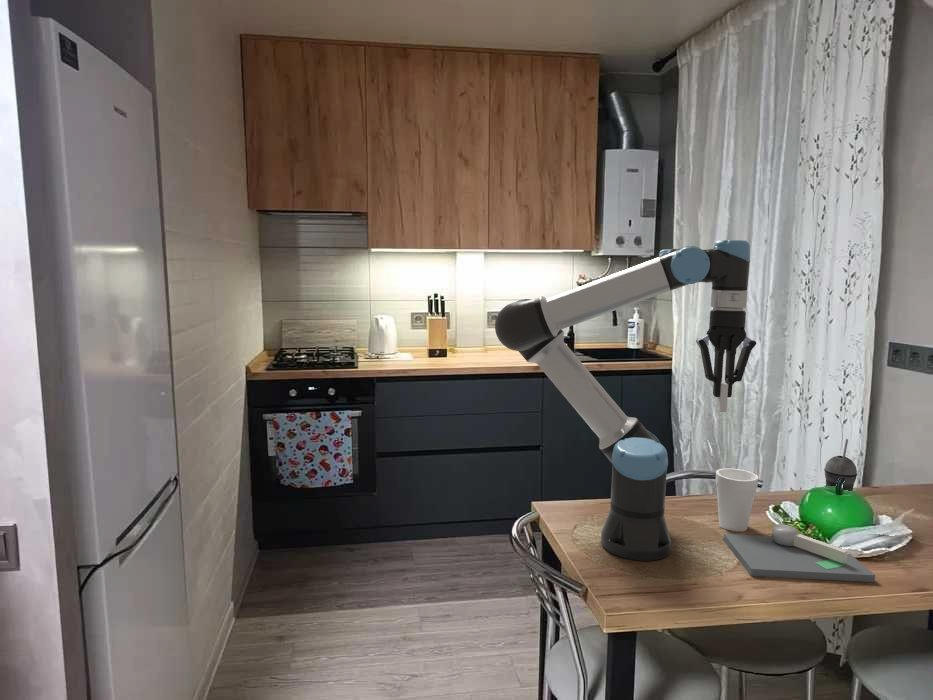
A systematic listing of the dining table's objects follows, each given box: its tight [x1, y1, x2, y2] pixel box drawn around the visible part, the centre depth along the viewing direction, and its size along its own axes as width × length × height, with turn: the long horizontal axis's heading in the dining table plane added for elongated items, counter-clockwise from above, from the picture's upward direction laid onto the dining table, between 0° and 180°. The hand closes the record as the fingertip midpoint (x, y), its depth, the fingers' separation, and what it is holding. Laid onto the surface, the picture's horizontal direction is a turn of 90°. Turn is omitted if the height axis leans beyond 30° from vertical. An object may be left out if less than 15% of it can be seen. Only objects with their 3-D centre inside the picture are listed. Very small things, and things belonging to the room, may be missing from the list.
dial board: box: [722, 533, 876, 583], centre depth 133 cm, size 24×17×2 cm
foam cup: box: [715, 467, 759, 532], centre depth 150 cm, size 10×9×13 cm
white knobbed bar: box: [771, 523, 849, 563], centre depth 134 cm, size 15×5×3 cm, turn 36°
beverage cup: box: [823, 438, 858, 492], centre depth 157 cm, size 7×7×20 cm
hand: (721, 410), depth 143 cm, fingers closed
